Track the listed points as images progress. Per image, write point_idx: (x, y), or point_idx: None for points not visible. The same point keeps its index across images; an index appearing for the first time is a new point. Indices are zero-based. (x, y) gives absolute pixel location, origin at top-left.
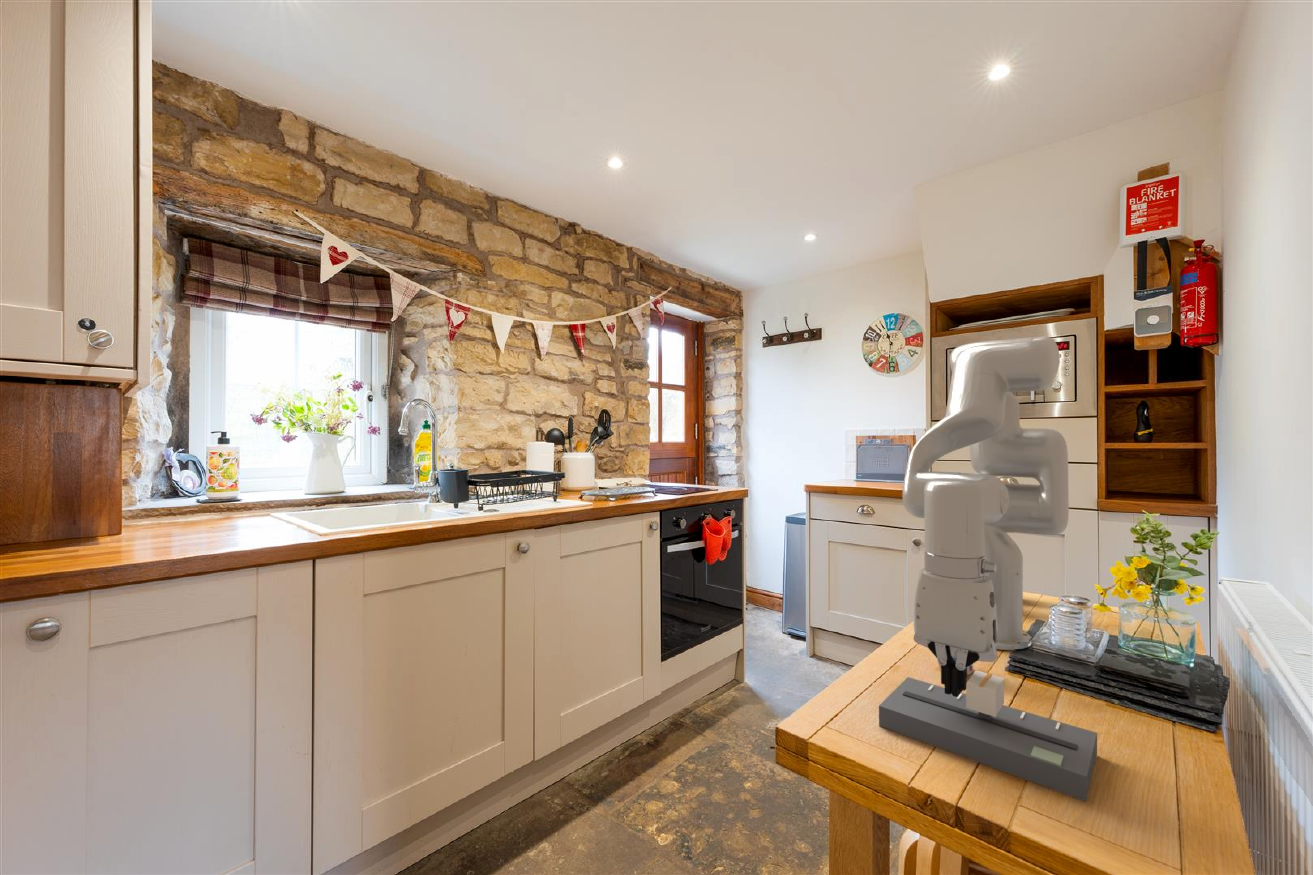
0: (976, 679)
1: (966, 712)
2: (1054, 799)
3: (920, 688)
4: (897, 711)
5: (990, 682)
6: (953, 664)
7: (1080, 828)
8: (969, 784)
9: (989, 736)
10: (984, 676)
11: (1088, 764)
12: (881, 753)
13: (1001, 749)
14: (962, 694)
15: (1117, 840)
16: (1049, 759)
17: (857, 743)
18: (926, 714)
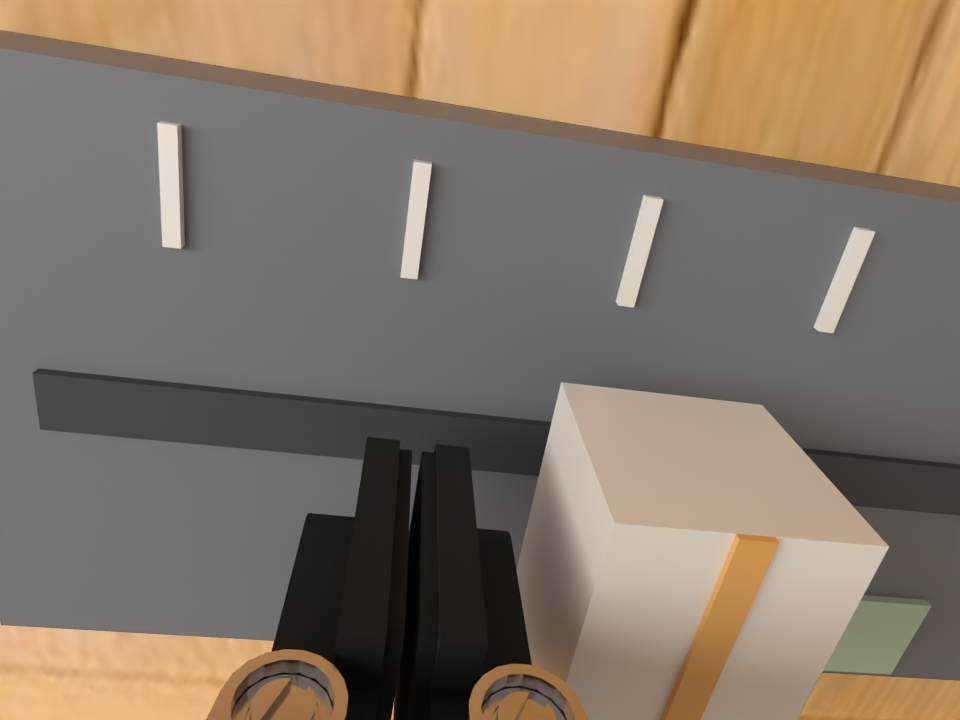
0: (614, 698)
1: (490, 452)
2: None
3: (101, 232)
4: (123, 624)
5: (734, 696)
6: (386, 708)
7: (827, 715)
8: None
9: None
10: (693, 611)
11: None
12: (185, 702)
13: None
14: (431, 151)
15: (913, 710)
16: (856, 663)
17: (69, 695)
18: (277, 577)
